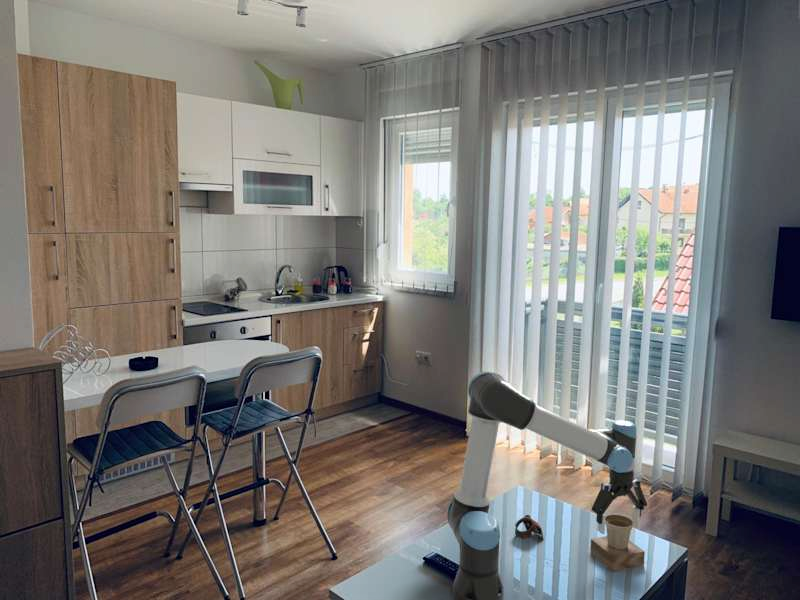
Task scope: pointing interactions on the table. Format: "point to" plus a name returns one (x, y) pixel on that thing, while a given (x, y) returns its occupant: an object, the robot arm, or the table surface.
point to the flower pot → (618, 530)
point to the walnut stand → (617, 554)
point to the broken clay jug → (528, 528)
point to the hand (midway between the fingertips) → (618, 529)
